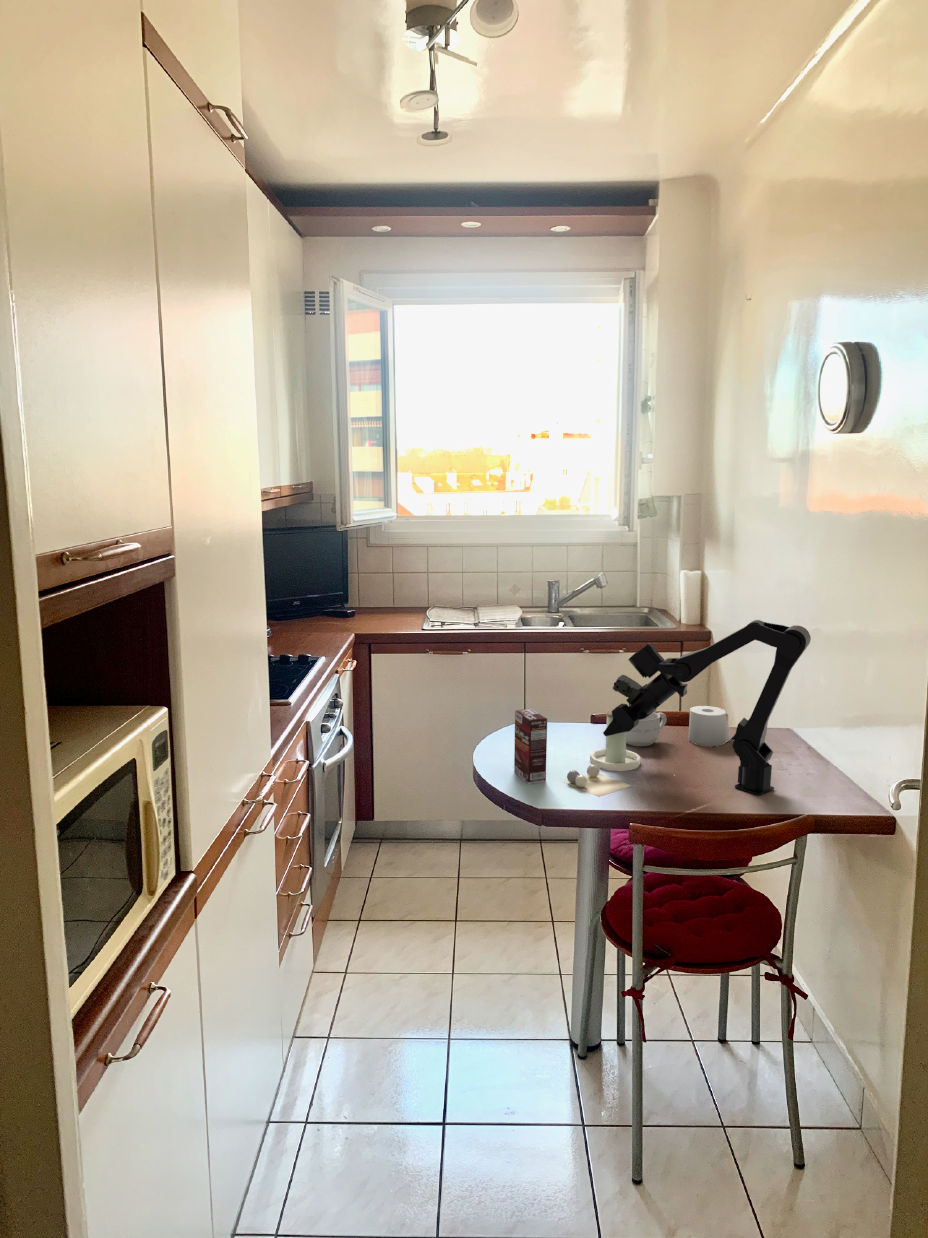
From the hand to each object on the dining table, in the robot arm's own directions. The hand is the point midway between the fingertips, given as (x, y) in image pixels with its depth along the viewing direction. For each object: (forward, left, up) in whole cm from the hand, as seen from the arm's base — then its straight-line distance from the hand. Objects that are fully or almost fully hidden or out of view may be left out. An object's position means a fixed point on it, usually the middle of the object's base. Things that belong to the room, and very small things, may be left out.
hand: (610, 729), depth 218 cm
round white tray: (-1, -1, -9) cm, 9 cm away
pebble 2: (-8, +18, -8) cm, 22 cm away
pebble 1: (-5, +18, -8) cm, 20 cm away
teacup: (+6, -20, -9) cm, 22 cm away
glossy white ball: (-5, +11, -8) cm, 15 cm away
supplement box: (+4, +23, -9) cm, 25 cm away
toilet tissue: (-4, -35, -9) cm, 37 cm away
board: (-9, +14, -9) cm, 19 cm away
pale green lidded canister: (-1, -1, -8) cm, 8 cm away
